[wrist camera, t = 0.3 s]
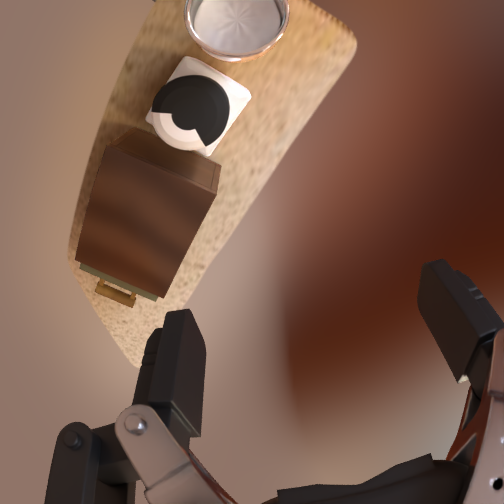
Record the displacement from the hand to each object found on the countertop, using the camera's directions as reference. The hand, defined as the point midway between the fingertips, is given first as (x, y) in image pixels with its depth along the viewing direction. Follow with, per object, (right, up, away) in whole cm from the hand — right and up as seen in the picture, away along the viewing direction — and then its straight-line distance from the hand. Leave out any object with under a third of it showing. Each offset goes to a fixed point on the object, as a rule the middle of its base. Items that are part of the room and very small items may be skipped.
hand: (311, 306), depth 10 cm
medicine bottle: (-7, +18, +22) cm, 29 cm away
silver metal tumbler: (-4, +25, +18) cm, 31 cm away
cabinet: (-14, +9, +27) cm, 32 cm away
